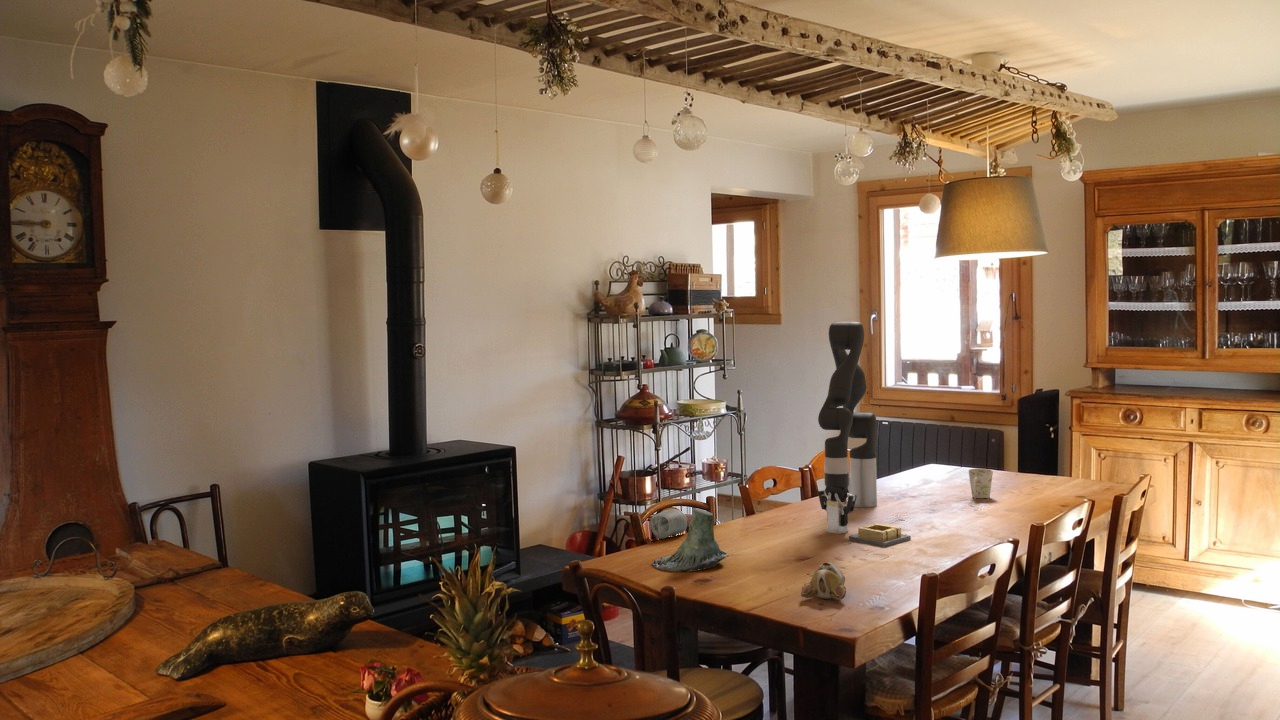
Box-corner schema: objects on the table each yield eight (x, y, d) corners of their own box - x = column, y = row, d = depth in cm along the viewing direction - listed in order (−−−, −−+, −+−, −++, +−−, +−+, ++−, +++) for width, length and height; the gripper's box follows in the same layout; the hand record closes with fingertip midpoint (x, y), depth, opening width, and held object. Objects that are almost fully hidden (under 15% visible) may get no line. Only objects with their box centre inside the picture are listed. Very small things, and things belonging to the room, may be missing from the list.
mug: (995, 496, 358) (995, 469, 358) (987, 502, 348) (987, 474, 347) (972, 494, 363) (971, 468, 362) (963, 500, 352) (963, 473, 352)
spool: (667, 532, 298) (661, 501, 303) (646, 542, 304) (640, 512, 308) (697, 535, 308) (690, 505, 312) (676, 545, 313) (670, 516, 318)
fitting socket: (848, 540, 296) (848, 528, 296) (875, 533, 304) (874, 521, 304) (884, 547, 286) (884, 534, 286) (910, 539, 294) (910, 527, 294)
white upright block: (827, 532, 308) (826, 500, 307) (836, 529, 311) (835, 498, 310) (838, 534, 304) (838, 502, 304) (848, 531, 307) (847, 500, 307)
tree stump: (653, 557, 283) (667, 497, 283) (721, 574, 281) (734, 513, 281) (649, 571, 265) (663, 506, 264) (721, 588, 263) (735, 523, 263)
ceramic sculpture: (852, 555, 242) (842, 574, 228) (854, 589, 243) (843, 610, 229) (810, 553, 246) (797, 571, 232) (811, 586, 247) (798, 606, 233)
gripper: (811, 470, 309) (812, 523, 310) (847, 474, 299) (848, 530, 299) (826, 467, 314) (827, 519, 315) (862, 471, 303) (863, 526, 304)
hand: (837, 524), depth 307 cm, fingers closed on white upright block, 4 cm apart
